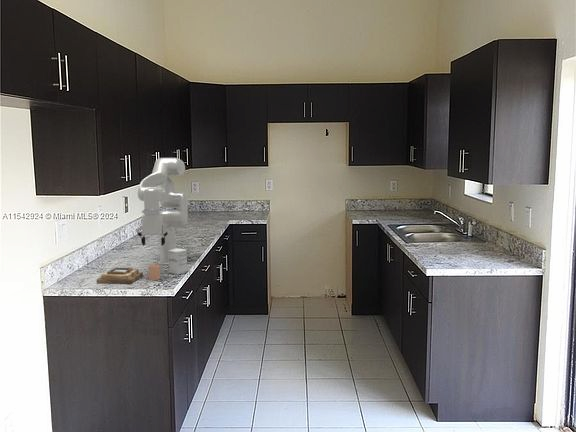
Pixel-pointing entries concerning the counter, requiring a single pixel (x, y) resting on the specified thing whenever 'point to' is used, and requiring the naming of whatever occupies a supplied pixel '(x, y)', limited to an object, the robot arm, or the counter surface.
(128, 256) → the counter surface
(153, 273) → the pillar block
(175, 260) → the supplement box
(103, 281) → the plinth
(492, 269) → the counter surface
